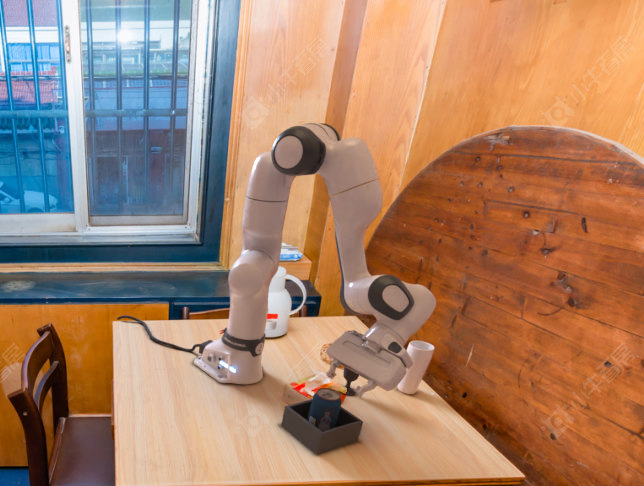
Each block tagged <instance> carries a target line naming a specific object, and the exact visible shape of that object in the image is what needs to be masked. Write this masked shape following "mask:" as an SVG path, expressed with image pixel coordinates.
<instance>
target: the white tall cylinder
mask: <svg viewBox="0 0 644 486" xmlns="http://www.w3.org/2000/svg"><path fill="white" fill-rule="evenodd" d="M405 350H406V351H407V352H408V354H409V355H410V357H411V359H412V361H413V365H412V366H411V367H410V368H408V369H406V375H405V376H404V378H403V379H402V380H401V382H400V383H399V384H398V385H397V389H398V391H399V392H401V393H403V394H406V395H413V394H415V393H417V392H418V389H419V386H420V385H421V382H422V380H423V378H424V376H425V373H426V371H427V369H428V367H429V366H430V363H431V361H432V359H433V355H434V352H435V346H434V345H433V344H431V343H429V342H426V341H423V340H411V341H410V342H409V343H408V345H407V348H406V349H405Z"/></svg>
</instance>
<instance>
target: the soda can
mask: <svg viewBox="0 0 644 486" xmlns="http://www.w3.org/2000/svg"><path fill="white" fill-rule="evenodd" d="M341 397H342V395H341V393H340V392H339V391H338V390H336V389H333V388H329V387H321V388H318V389H317V390H316V391H315V393H313V395H312V398H311V399H312V403H311V407H310V411H309V415H308V419H307V421H309V422H310V423H311V424H313V425H314V426H315V427H317V428H318V429H319V430H321V431H322V432H323V431H326V430H330V429H333V428H335V425H336V422H337V418H338V414H339V411H340V407H342V403H343V402H342V398H341Z"/></svg>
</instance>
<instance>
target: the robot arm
mask: <svg viewBox="0 0 644 486" xmlns="http://www.w3.org/2000/svg"><path fill="white" fill-rule="evenodd" d="M315 174H318V175H319V176H321V177H322V179H323V181H324V183H325V186H326V189H327V192H328V197H329V202H330V206H331V211H332V216H333V222H334V238H335V245H336V251H337V258H338V264H339V270H340V277H341V279H340V280H341V282H340V289H339V301H340V304H341V306H342V308H343V309H344V311H346V312H347V313H349V314H351V315H354V316H364V315H370V316H371V315H373V316H374V318H375V319H376V320H375V322H374V323H373V324H372V325H371V326H370V327H369V328H368V330H366V332H365V333H364V334H363V333H361V332H358V331H357V330H354V329H352V330H345V331H344V332H343V333H342V334H341V335H340V336H339V337H337V338H336V339H335V340H334V341H333V342H332V343H331V344H330V345H328V347H327V348H326V351H325V352H326V353H325V354H326V355H327V356H328V358H329V359H330V360H331V361H330V366H329V369H328V370H327V372H326V373H325V376H326V377H327V378H328V379H330V380H333V379H334V378H335V377H336V376H337V372H336V370H337V368H340V367H341V366H342V367H343V368H344V367H346V368H348V369H349V370H351V371H353V372H354V373H356V374H358V375H359V377H361V378H363V379H365V380H366V384H364V385H362V386H360V385H357V387H356V388H355V389H353V390H354V393H355V394H354V395H357V396H358V397H362V396H363V395H364V394H365V393H367V392H369V391H372V390H375V389H376V387H378V388H380V389H382V390H384V391H385V392H390V391H393V390H395V388H397V387H398V384H399V383H400V382H401V380H402V379H403V378H404V376H405V375H406V369H408V368H410V367H411V366H412V365H413V361H412V359H411V357H410V355H409V354H408V352H407V351H406V350H407V349H406V348H405V345H406V344H407V342H408V340H409V339H410V337H411V336H413V335H415V334H416V333H418V331H419V330H420V329H421V328H422V327H423V326H424V325H425V324H426V322H427V321H428V320H429V319H430V317H431V316H432V315H433V313H434V312H435V309H436V306H437V300H436V297H435V294H434V293H433V292H432V291H431V290H430V289H429V288H427V287H426V286H425V285H422V284H419V283H418V284H417V283H409V282H406V281H404V280H401V279H400V278H399V277H397V276H395V275H392V274H374V275H372V274H371V273H370V271H369V270H368V265H367V259H366V252H365V246H364V245H365V244H364V239H365V235H366V232H367V230H368V229H369V228H370V226H371V225H372V224H373V222H374V221H376V219H377V218H378V216H379V215H380V213H381V211H382V209H383V207H384V205H383V204H384V202H383V201H384V197H383V188H382V184H381V180H380V176H379V171H378V169H377V166H376V163H375V160H374V157H373V154H372V153H371V150H370V148H369V146H368V144H367V142H366V141H365V140H364V139H363V138H360V137H356V136H354V137H353V136H352V137H345V138H343V139H341V135H340V133H339V131H338V130H337V129H336V128H335V127H333V126H332V125H330V124H328V123H323V122H322V123H317V122H308V123H304V124H301V125H293V126H290V127H289V128H287V129H285V130H283V131H282V132H281V133H280V134H278V135H277V137H276V138H275V140H274V141H273V144H272V146H271V150H269V151H265V152H262V153H261V154H259V155H258V156H257V157H256V158H255V160H254V162H253V165H252V168H251V171H250V175H249V179H248V183H247V187H246V192H245V199H244V205H243V212H242V219H241V224H240V225H241V227H240V228H241V231H242V233H241V235H242V243H241V244H242V245H241V252H240V255H239V257H238V258H237V259H236V260H235V261H234V262H233V264H232V265H231V267H230V270H229V273H228V286H229V313H228V322H227V327H224V328H223V329H221V330H219V335H222V336H221V337H220V338H217V339H215V340H211V339H209V340H206V341H204V342H201V343H195V344H193V346H192V347H191V348H186V347H185V348H184V347H182V346H179V345H176V344H173V343H171V342H166V341H164V340H160V339H158V338H156V337H155V336H154V335H153V334H152V332H151V330H150V328H149V326H148V325H147V324H146V322H145V321H143V320H141V319H139V318H137V317H134V316H131V315H127V314H125V315H119V316H118V317H116V320H118V321H119V320H122V319H129V320H132V321H134V322H137V323H140V324H141V325H143V327H144V329H145V331H146V333H147V335H148V336H149V337H150V339H151V340H152V341H154V342H155V343H158V344H161V345H164V346H167V347H170V348H174V349H176V350H179V351H184V352H187V353H191V352H194V351H195V349H196V348H198V354H199V355H198V356H197V357H196V358H195V359H194V360H193V364H194V365H195V366H196V367H197V368H199V369H200V370H202V371H203V372H204V373H206V374H207V375H209V376H210V377H211V378H212V379H214V380H216V381H217V382H218V383H220V384H236V385H237V384H238V385H251V384H256V383H258V382H260V381H262V380H263V377H264V374H263V363H262V362H263V360H262V359H263V352H264V347H265V342H266V327H267V321H268V314H269V293H270V286H271V282H272V280H273V279H274V277H275V276H276V275H277V273H278V270H279V266H280V260H281V252H282V246H283V245H282V244H283V232H284V226H285V220H286V214H287V210H288V206H289V205H288V204H289V199H290V193H291V188H292V186H293V182H294V180H295V179H296V178H297V177H301V176H313V175H315Z"/></svg>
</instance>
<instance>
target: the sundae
mask: <svg viewBox="0 0 644 486" xmlns="http://www.w3.org/2000/svg"><path fill="white" fill-rule="evenodd" d="M342 375H343V379H344V380H345V381H346V383H345V386H344V387H346V388H347V392H346V394H345V395H344V396H354V395H356V394H355V393H354V390H355V389H353V388H351V385H352V382H355V381H357V380H358V379H359V377H360V375H358V374H356V373H354V372H353V371H351V370H349V369H348V368H346V367H344V366H343V374H342Z"/></svg>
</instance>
